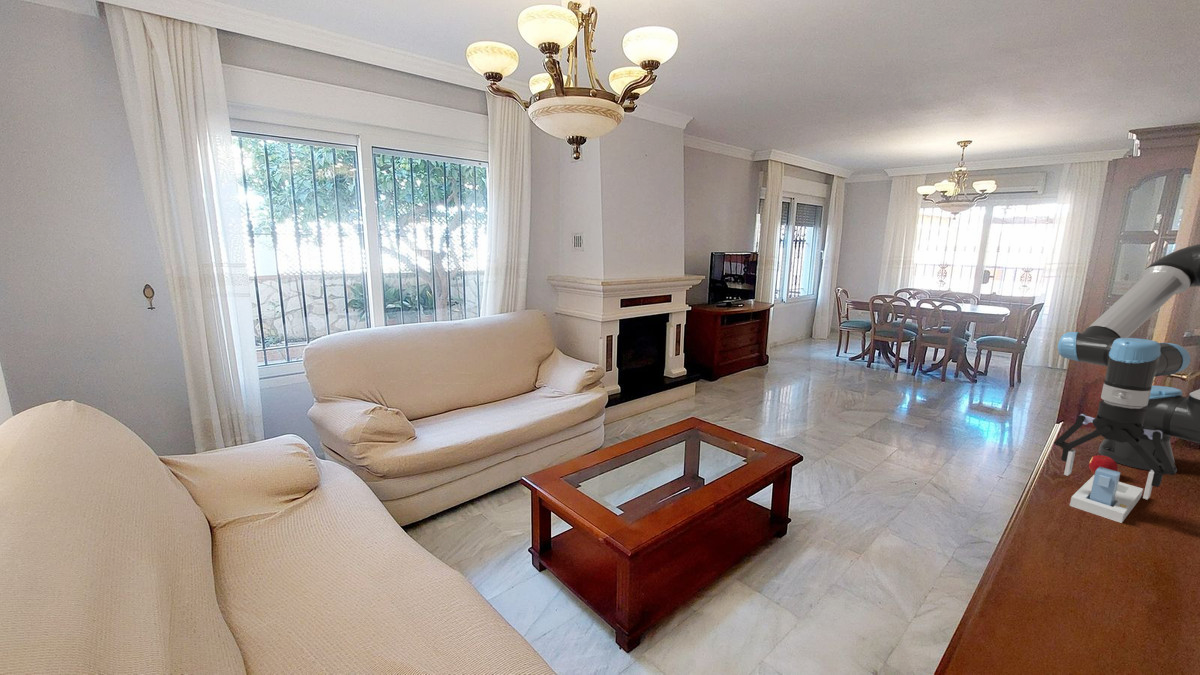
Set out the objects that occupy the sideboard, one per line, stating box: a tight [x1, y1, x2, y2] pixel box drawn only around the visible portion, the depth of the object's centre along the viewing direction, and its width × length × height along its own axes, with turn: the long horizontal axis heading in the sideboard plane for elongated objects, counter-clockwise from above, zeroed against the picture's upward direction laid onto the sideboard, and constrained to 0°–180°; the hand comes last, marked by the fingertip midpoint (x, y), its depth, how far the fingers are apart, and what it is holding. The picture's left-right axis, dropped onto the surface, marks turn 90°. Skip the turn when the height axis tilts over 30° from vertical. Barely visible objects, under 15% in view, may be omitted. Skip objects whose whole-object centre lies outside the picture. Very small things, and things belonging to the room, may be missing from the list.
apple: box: [1088, 454, 1119, 475], centre depth 133 cm, size 8×8×6 cm
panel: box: [1069, 474, 1144, 524], centre depth 120 cm, size 20×9×3 cm, turn 123°
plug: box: [1090, 467, 1121, 507], centre depth 116 cm, size 4×4×10 cm
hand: (1105, 485), depth 116 cm, fingers open, 13 cm apart
